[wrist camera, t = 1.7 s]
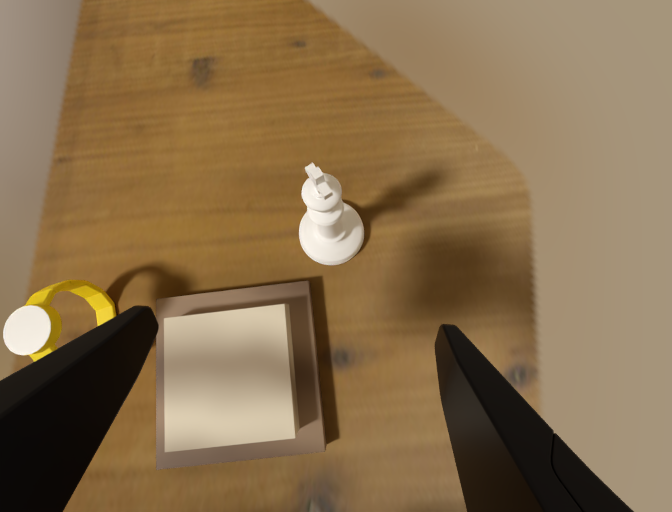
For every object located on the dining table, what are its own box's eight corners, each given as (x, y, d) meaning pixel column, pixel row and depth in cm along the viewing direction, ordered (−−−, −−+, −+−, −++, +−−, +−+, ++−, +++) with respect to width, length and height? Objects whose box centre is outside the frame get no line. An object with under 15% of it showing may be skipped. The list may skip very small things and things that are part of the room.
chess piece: (341, 190, 23) (334, 102, 14) (376, 242, 22) (396, 188, 13) (287, 224, 23) (240, 158, 13) (321, 277, 22) (297, 250, 12)
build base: (326, 444, 20) (322, 463, 18) (165, 462, 20) (140, 482, 18) (310, 281, 22) (304, 278, 20) (164, 299, 22) (141, 298, 20)
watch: (136, 355, 22) (61, 378, 16) (100, 367, 22) (12, 395, 16) (119, 278, 23) (41, 273, 17) (84, 289, 23) (-7, 288, 17)
